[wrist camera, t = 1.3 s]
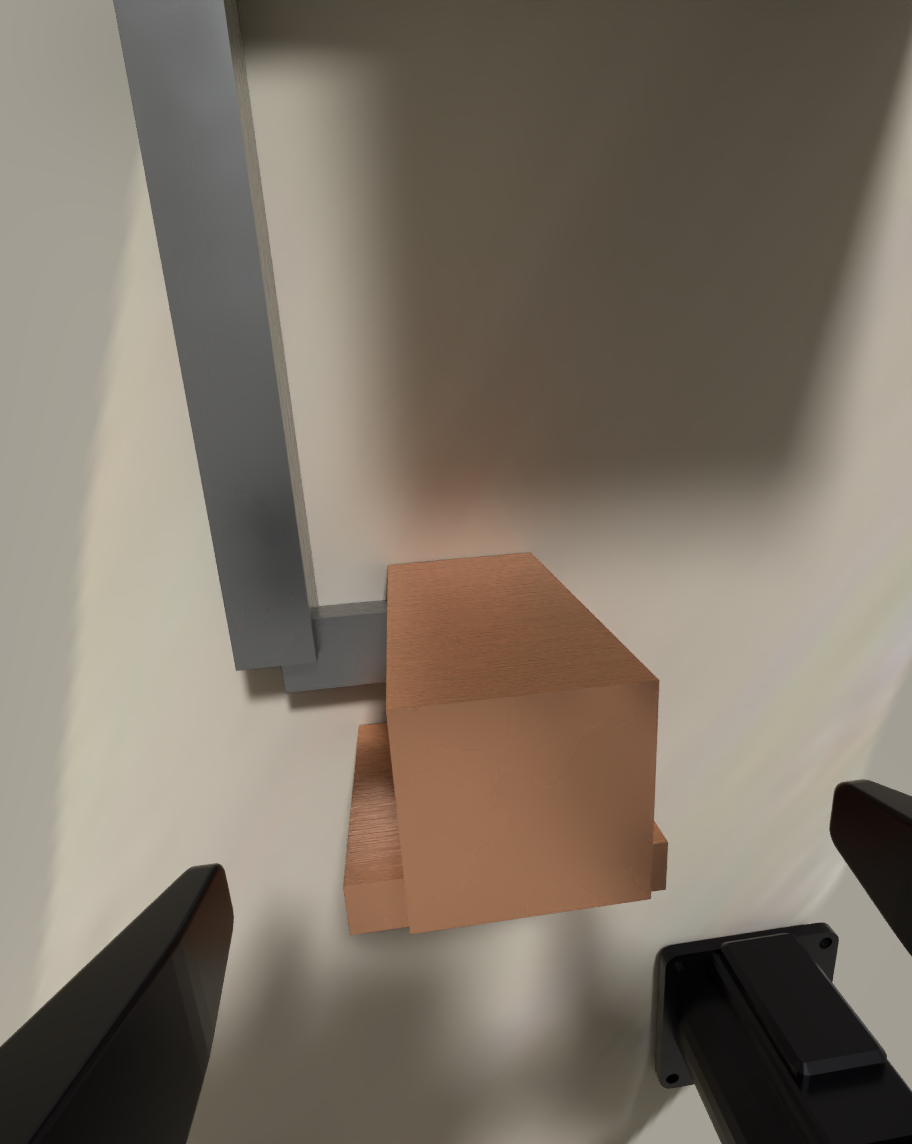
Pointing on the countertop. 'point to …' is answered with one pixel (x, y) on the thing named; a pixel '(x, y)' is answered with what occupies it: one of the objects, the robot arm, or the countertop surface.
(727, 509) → the countertop surface
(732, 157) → the countertop surface
